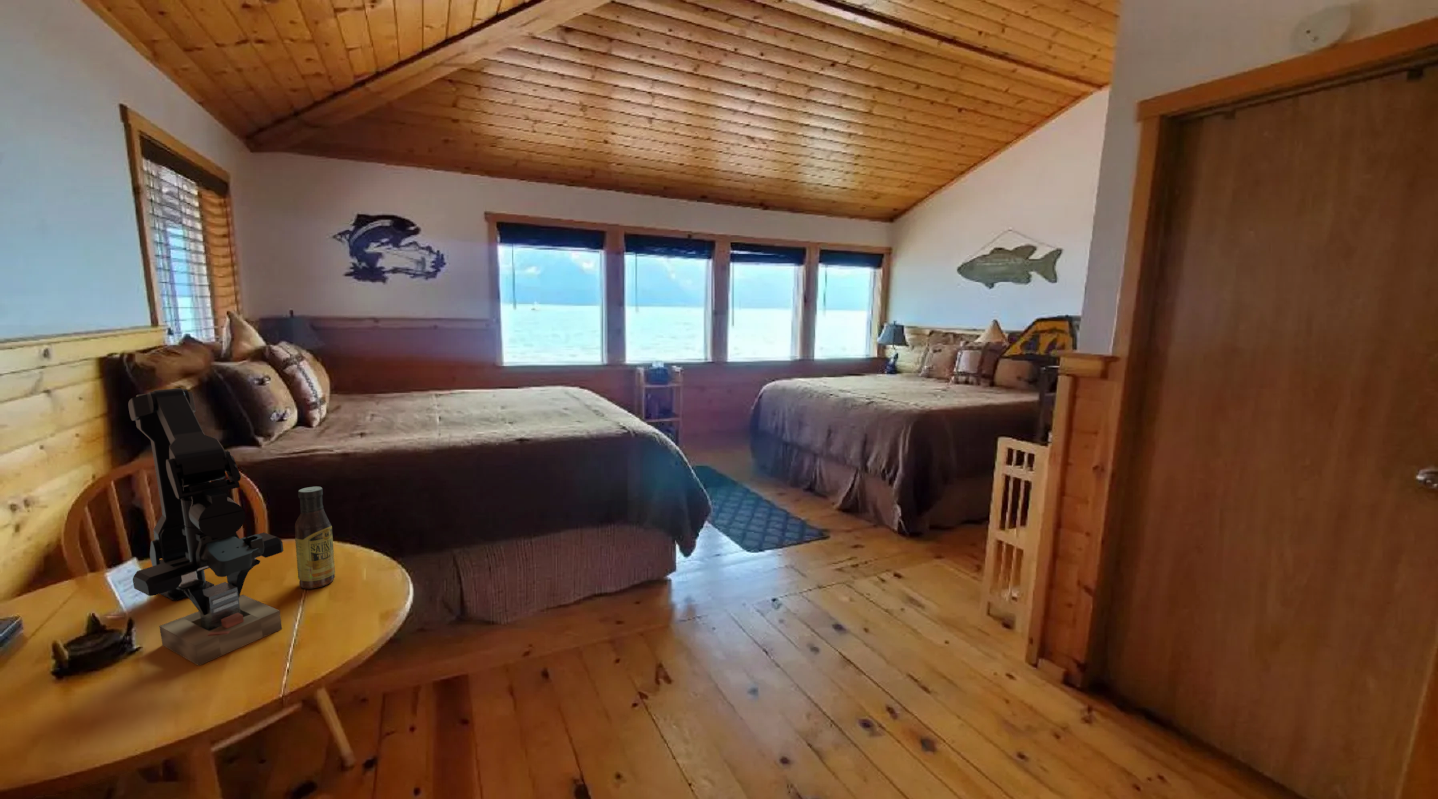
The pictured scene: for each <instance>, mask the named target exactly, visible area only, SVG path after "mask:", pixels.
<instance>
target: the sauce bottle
mask: <svg viewBox="0 0 1438 799" xmlns="http://www.w3.org/2000/svg"><path fill="white" fill-rule="evenodd" d="M323 490H324V489H323V487H321V486H309V487H304V488H301V489H298V492H297V496H298V498H299V503H300V508H299V510H300V514H299V516H298V517H297V518H296V521H295V524H294V530H295V531H294V532H295V536H294V540H295V553H296V554H295V555H296V567H297V569H296V570H297V578H298V580H299V587H300V588H302V589H307V590H308V589H309V590H312V589H318V588H321V587H325V586H327V585H330V583H332V582H333V581H334V580H335V578H336V576H335V573H336V565H335V551H334V538H333V526H332V523H331V522H330V519H329V518H328V516H327V513H326V512H325V509H324V505H323V495H324V492H323Z"/></svg>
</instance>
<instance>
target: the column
mask: <svg viewBox="0 0 1438 799" xmlns="http://www.w3.org/2000/svg"><path fill="white" fill-rule="evenodd" d="M203 594H204V598H205V602H206V606H207V615H202V614H201V613H200V618H201V625H202V628H204V629H205V630H207V631H211V630H213V629H216V628H218V627H221V626H222V623H221V619H223V618H226V617H228V616H231V615H233V614H236V613H240V614H241V612H240V604H239V597H238V589H237V587H235V586H233V585H231V584H228V582H226V581H224V582H221V583H218V584H216V585H215V584H214V586H212V587H209V588H207V589H204V590H203Z"/></svg>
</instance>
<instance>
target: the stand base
mask: <svg viewBox="0 0 1438 799" xmlns="http://www.w3.org/2000/svg"><path fill="white" fill-rule="evenodd" d="M239 604H240V612H241V614H240V613H236V614H233V615H231V616H228V617H226V618H223V619H221V623H222V626H221V627H218V628H216V629H213V630H211V631H207V630H205V629H204V628H202V625H201V618H200V612H199V610H197V611H195V612H193V613H190V614H187V615H185V616H183V617H182V616H181V617H179V618H177V619H175V620H172V621H169V622H166V623H164V624H162V625H161V624H160V625H159V632H160V637H161V644H162V647H165V648H167V649H168V650H171V651H172V652H173V653H175V654H177V655H179V656H181V657H182V658H185V659H186V660H187V661H190V662H191V663H193V664H195V665H196V666H202V665H204V664H206V663H208V662H210V661H213V660H215V659H217V658H219V657H222V656H224V655H227V654H228V653H230V652H233V651H235V650H238V649H240V648H242V647H244V646H246V645H249V644H251V643H253V642H256V641H258V640H260V639H263V638H265V637H267V636H269V635H272V634H275V633H276V632H278V631H280V630H282V629H283V627H282V619H281V617H282V616H281V611H280V610H279V609H277V608H275V607H273V606H270V605H268V604H266V603H263V602H261V601H258V600H257V599H254V598H251V597H249V596H247V595H245V594H240V596H239Z"/></svg>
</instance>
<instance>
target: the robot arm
mask: <svg viewBox="0 0 1438 799" xmlns="http://www.w3.org/2000/svg"><path fill="white" fill-rule="evenodd" d="M128 411H129V418H130V419H131V421H132V422H133V421H135V424H136V425H135V426H136V428H137V430H139V431H140V432H141V433H142V434H144V435H145V437H147V438H148V439H149V440H150V444H151V451H152V457H153V458H152V459H153V464H154V469H155V471H154V472H155V475H156V476H155V477H156V483H157V488H158V494H159V495H158V496H159V501H160V507H161V513H162V514H161V516H160V518H159V519H158V521H157V523H156V524H155V526H154V527H153V530H152V531H153V538H154V539H153V540H151V541H150V547H149V548H150V549H149V558H150V562H151V566H150V567H146V568H143V569H140V570H137V571H136V572H135V574H134V575H133V576H132V585H133V589H135V590H137V591H139V592H140V593H143V594H145V595H146V596H149V597H151V596H157V595H161V596H164V597H165V598H168V599H169V600H171V601H179V600H182V599H184V598H188V599H189V600H190V602H191V603H192V605H194V607H195V608H196V609H197V611H199V612H200V613H201V614H202V615H207V606H206V602H205V598H204V594H203V590H204V589H207V588H209V587H212V586H215V583H212V582H210V581H208V580H206V575H205V570H208V569H211V570H212V571H213V573H214V575H215V576H216V577H219V578H225V577H226V579H227V582H226V583H228V584H231V585H233V586H235V587H237V589H238V597H239V596H240V595H241V593H242V589H243V586H244V583H245V580H246V578H247V576H248V575H249V574H248V573H249V572H250V571H251V570H252V569H253V568H254V567H255V566H258V565H259V564H261V560H259V559H257V558H259V557H263V558H266V559H267V558H269V557H272V556H276V555H278V554H282V553H283V552H284V544H283V543H284V542H283V540H282V539H281V538H280V537H278V536H275V535H273V534H270V533H266V532H261V533H257V534H252V535H250V536H244V537H241V538H240V537H239V536H238V533H237V532H238V531H239V530H240V529H242V527H243V525H244V524H245V521H246V512H245V510H244V508H243V507H242V506H241V505H240V504H238V503H237V502H236V501H234V500H233V499H232V498H231V497H230V492H229V490H232V489H239V488H240V487H241V486H240V481H241V479H242V476H241V473H240V470H239V468H238V465H237V462H236V460H235V456H233V455H231V453H230V451H229V450H225V448H224V446H223V445H222V444H221V442H220V441H219V439H218V438H214V437H212V436H209V435H206V434H205V432H204V430H203V428H202V426H201V424H200V422H199V420H198V418H197V416H196V414H195V412H197V409H196V403H195V398H194V395H193V392H191V391H188V390H187V389H186V388H182V387H178V388H166V389H165V388H164V389H154V390H153V391H150V392H147V393H143V394H137V395H135V396H134V397H132V398H130V399H129V401H128ZM226 477H228V478H227V479H226Z"/></svg>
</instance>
